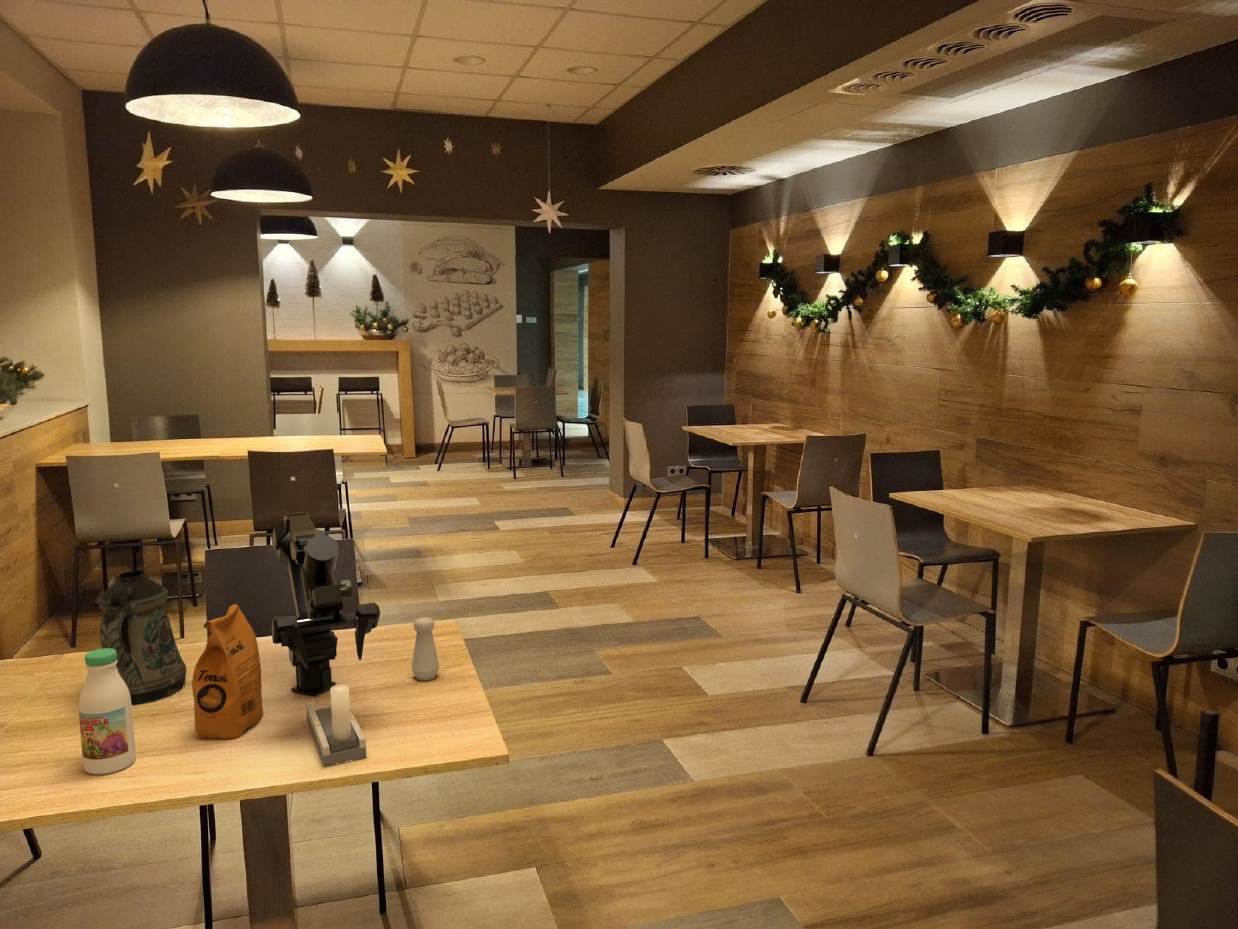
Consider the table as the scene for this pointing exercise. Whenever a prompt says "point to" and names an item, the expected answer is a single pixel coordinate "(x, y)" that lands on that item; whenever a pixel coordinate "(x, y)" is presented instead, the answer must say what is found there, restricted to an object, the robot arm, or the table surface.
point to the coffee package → (228, 679)
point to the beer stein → (141, 637)
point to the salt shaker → (424, 650)
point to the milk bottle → (105, 716)
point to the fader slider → (341, 720)
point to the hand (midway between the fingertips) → (334, 663)
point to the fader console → (323, 726)
